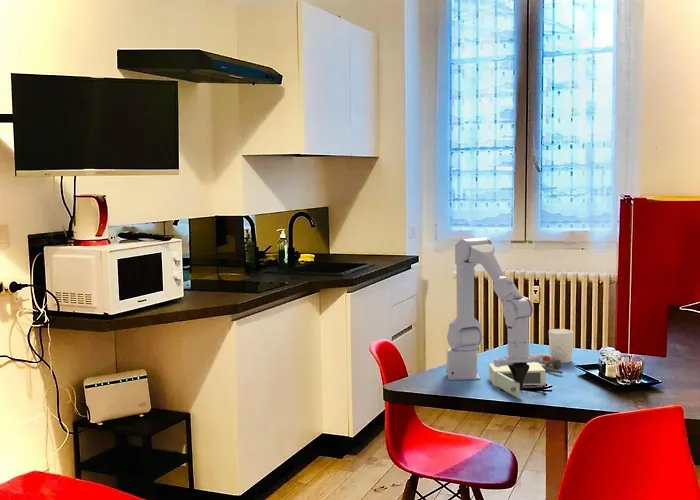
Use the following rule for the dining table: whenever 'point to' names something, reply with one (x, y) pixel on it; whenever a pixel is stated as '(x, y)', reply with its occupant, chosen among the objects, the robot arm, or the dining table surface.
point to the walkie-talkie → (550, 363)
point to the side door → (508, 385)
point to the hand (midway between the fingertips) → (518, 389)
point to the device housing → (532, 377)
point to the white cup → (561, 344)
